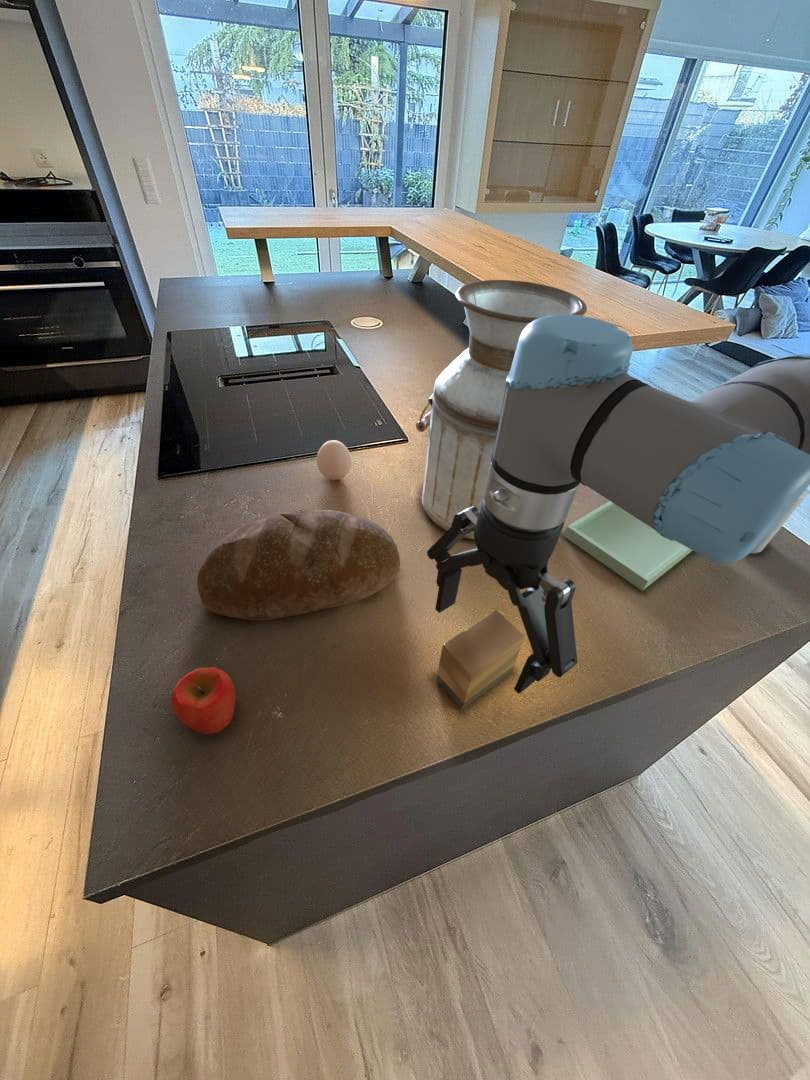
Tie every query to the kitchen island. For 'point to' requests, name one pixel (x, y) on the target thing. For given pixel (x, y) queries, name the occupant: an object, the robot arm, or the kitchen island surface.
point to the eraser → (478, 658)
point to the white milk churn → (479, 390)
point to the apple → (205, 700)
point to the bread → (297, 565)
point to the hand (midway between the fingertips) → (482, 643)
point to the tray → (625, 544)
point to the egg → (334, 460)
